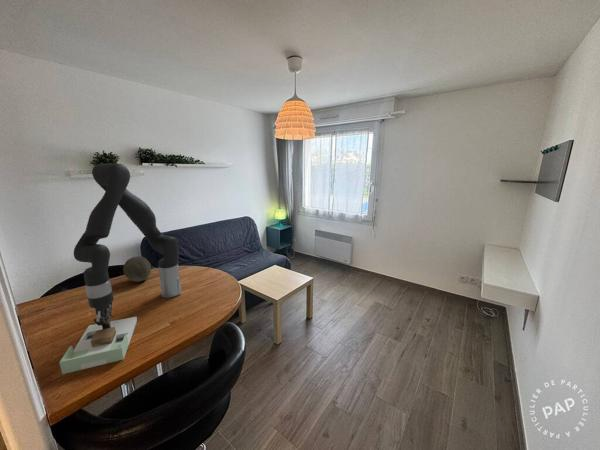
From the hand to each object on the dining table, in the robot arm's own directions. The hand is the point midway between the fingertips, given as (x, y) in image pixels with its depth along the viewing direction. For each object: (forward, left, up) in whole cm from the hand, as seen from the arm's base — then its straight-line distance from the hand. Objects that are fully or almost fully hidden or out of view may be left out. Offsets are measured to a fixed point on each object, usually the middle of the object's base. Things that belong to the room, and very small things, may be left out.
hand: (107, 330), depth 96 cm
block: (0, +5, -1) cm, 5 cm away
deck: (0, +4, -3) cm, 5 cm away
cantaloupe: (-2, -51, -3) cm, 51 cm away
